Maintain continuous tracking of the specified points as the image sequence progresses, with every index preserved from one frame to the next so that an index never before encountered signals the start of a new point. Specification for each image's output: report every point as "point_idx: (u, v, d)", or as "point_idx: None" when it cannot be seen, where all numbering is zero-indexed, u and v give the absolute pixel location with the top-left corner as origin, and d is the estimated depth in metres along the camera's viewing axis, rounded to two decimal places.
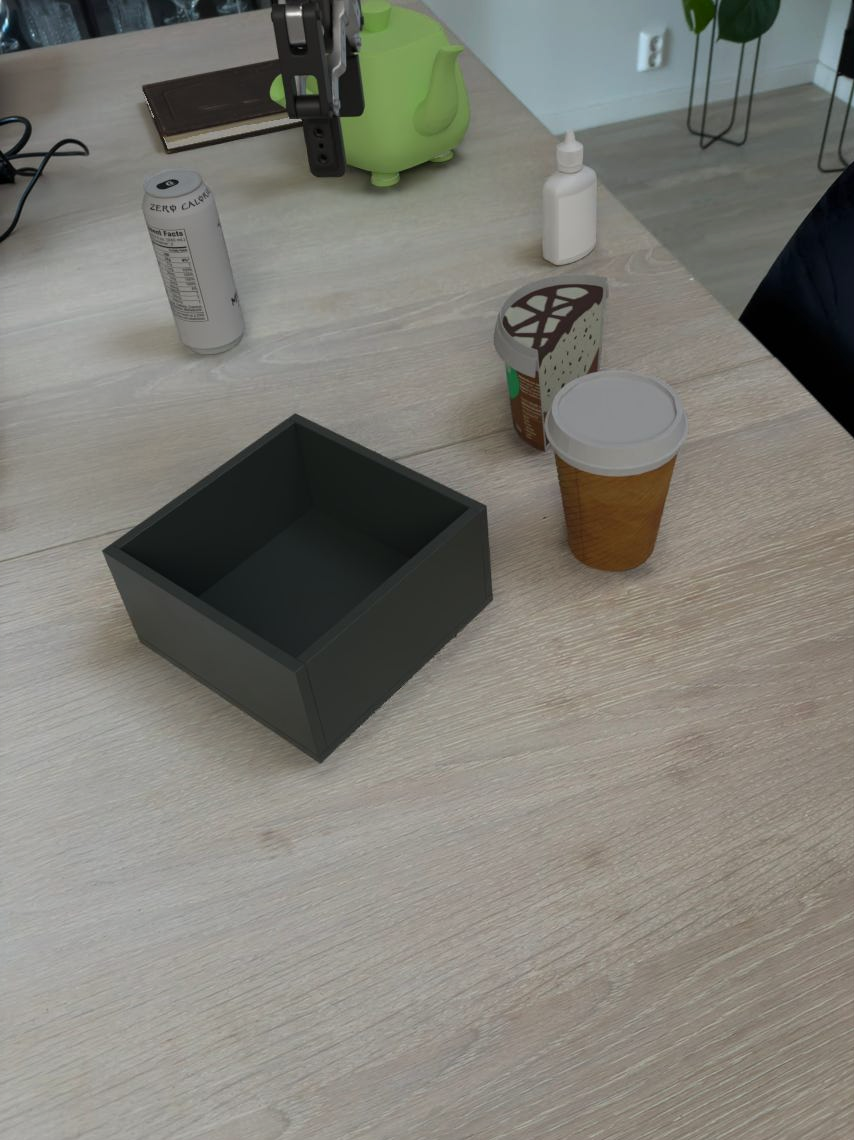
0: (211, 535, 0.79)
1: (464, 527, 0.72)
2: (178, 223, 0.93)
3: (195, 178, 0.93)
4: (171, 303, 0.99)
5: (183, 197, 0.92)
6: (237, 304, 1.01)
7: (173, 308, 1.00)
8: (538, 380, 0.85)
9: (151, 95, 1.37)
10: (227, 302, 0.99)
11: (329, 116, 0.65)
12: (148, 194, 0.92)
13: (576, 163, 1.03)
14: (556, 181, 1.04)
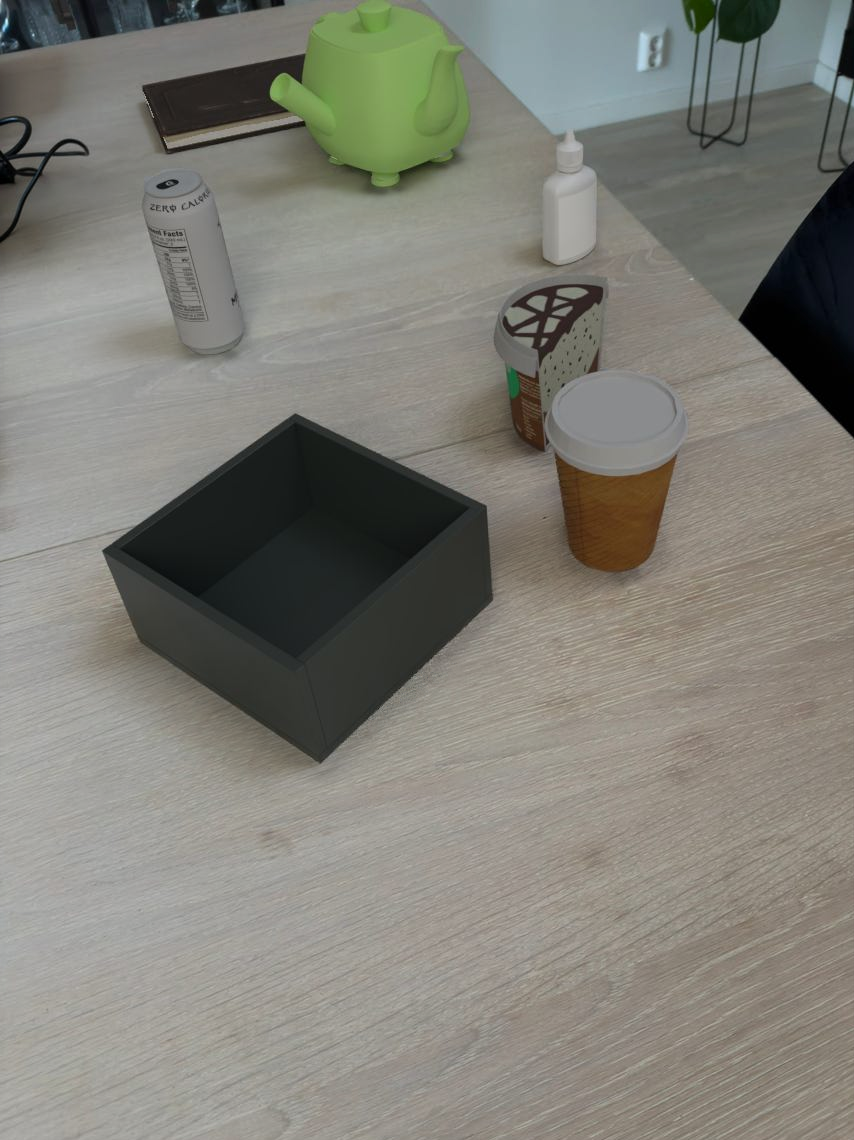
0: (211, 535, 0.79)
1: (464, 527, 0.72)
2: (178, 223, 0.93)
3: (195, 178, 0.93)
4: (171, 303, 0.99)
5: (183, 197, 0.92)
6: (237, 304, 1.01)
7: (173, 308, 1.00)
8: (538, 380, 0.85)
9: (151, 95, 1.37)
10: (227, 302, 0.99)
11: None
12: (147, 194, 0.92)
13: (576, 163, 1.03)
14: (556, 181, 1.04)
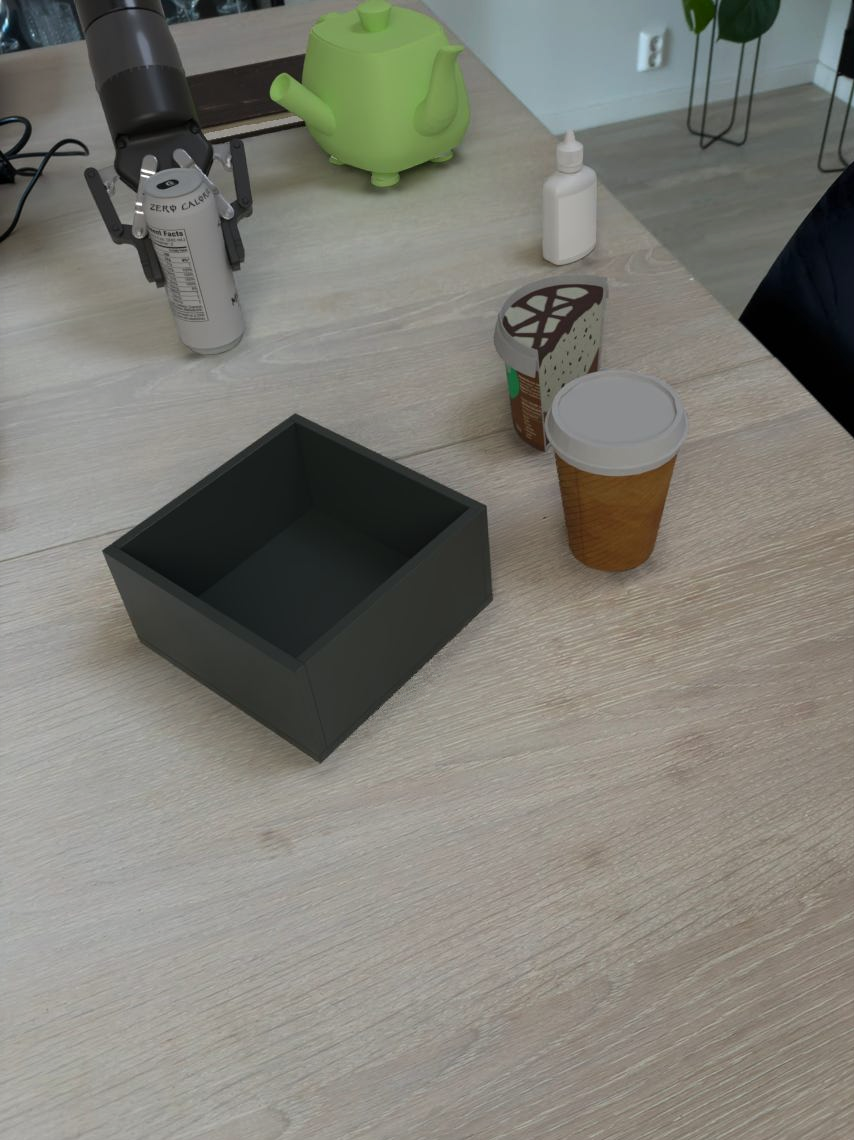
0: (211, 535, 0.79)
1: (464, 527, 0.72)
2: (178, 223, 0.93)
3: (195, 178, 0.93)
4: (171, 303, 0.99)
5: (183, 197, 0.92)
6: (237, 304, 1.01)
7: (173, 308, 1.00)
8: (538, 380, 0.85)
9: None
10: (227, 302, 0.99)
11: (251, 214, 1.00)
12: (148, 194, 0.92)
13: (576, 163, 1.03)
14: (556, 181, 1.04)
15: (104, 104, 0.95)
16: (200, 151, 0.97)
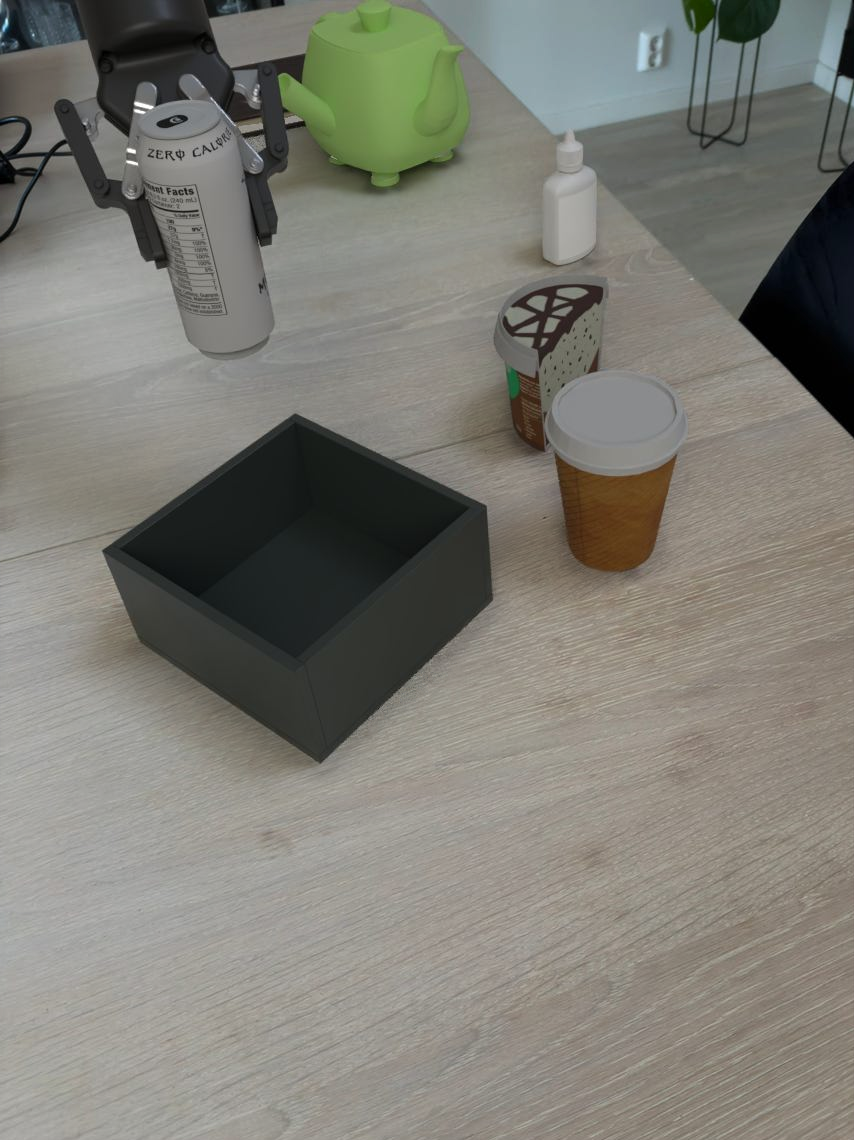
0: (211, 535, 0.79)
1: (464, 527, 0.72)
2: (187, 177, 0.66)
3: (211, 113, 0.66)
4: (176, 290, 0.72)
5: (195, 139, 0.65)
6: (266, 292, 0.74)
7: (179, 297, 0.73)
8: (538, 380, 0.85)
9: None
10: (253, 289, 0.72)
11: (285, 168, 0.73)
12: (144, 134, 0.65)
13: (576, 163, 1.03)
14: (556, 181, 1.04)
15: (82, 10, 0.68)
16: (216, 79, 0.69)
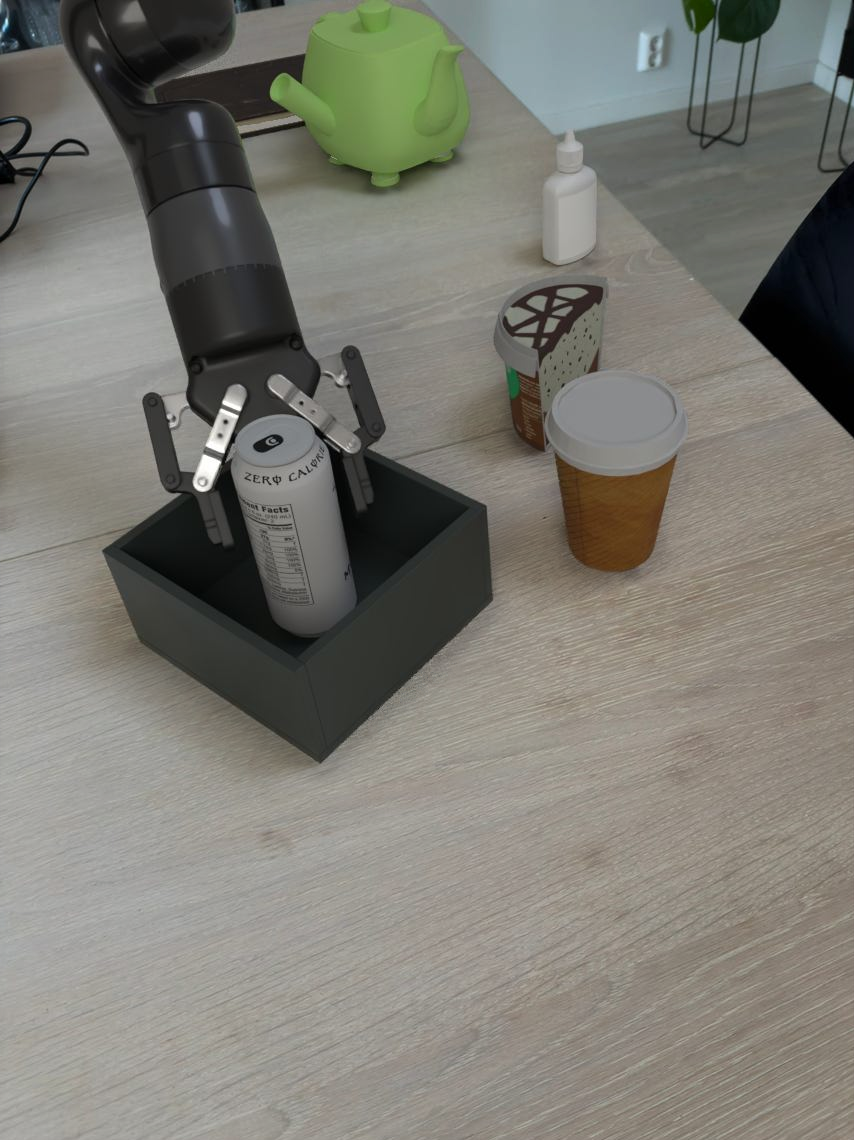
0: None
1: (464, 527, 0.72)
2: (283, 498, 0.67)
3: (306, 433, 0.68)
4: (264, 580, 0.74)
5: (291, 465, 0.67)
6: (350, 576, 0.76)
7: (266, 586, 0.74)
8: (538, 380, 0.85)
9: None
10: (339, 579, 0.74)
11: (380, 437, 0.74)
12: (242, 459, 0.67)
13: (576, 163, 1.03)
14: (556, 181, 1.04)
15: (174, 314, 0.69)
16: (303, 374, 0.70)
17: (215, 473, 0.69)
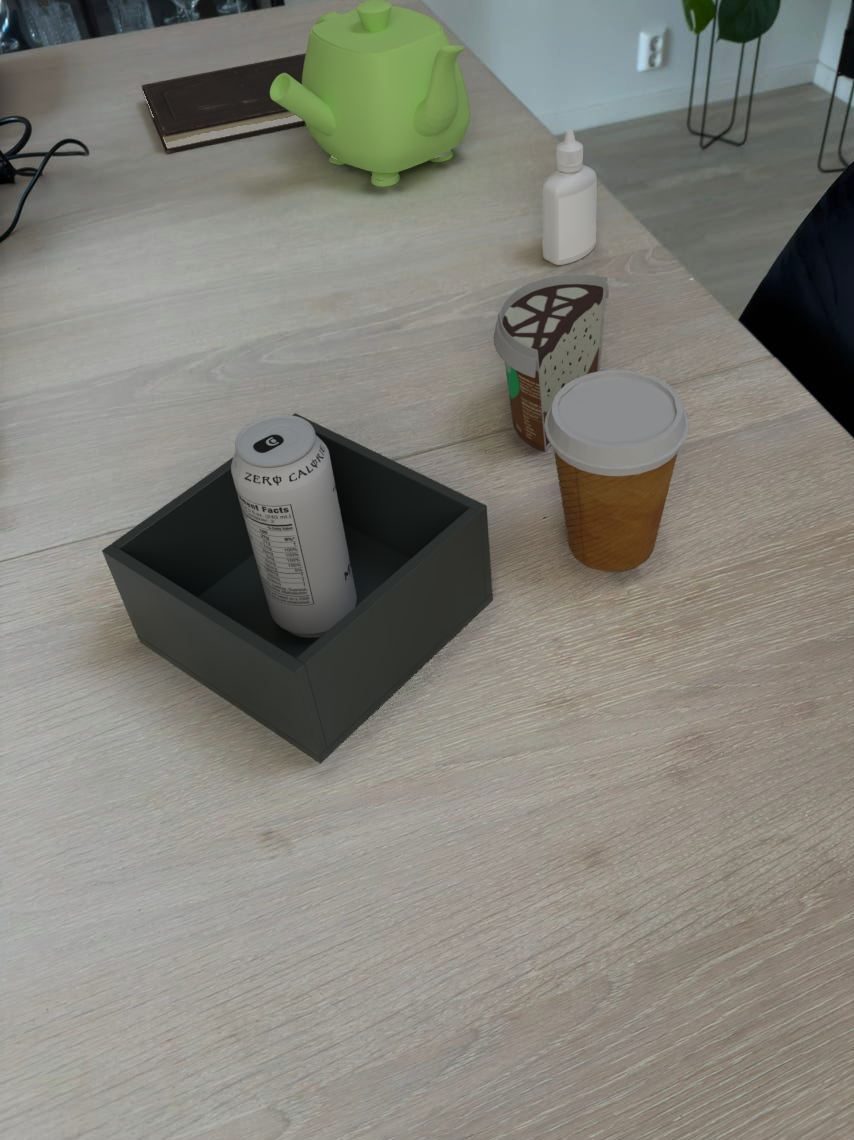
0: (211, 535, 0.79)
1: (464, 527, 0.72)
2: (283, 499, 0.67)
3: (306, 434, 0.68)
4: (264, 580, 0.74)
5: (292, 465, 0.67)
6: (350, 576, 0.76)
7: (266, 586, 0.74)
8: (538, 380, 0.85)
9: (150, 95, 1.37)
10: (339, 580, 0.74)
11: None
12: (242, 459, 0.67)
13: (576, 163, 1.03)
14: (556, 181, 1.04)
15: None
16: None
17: None
